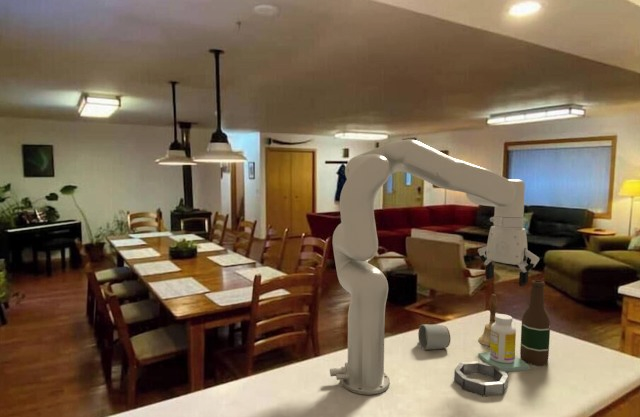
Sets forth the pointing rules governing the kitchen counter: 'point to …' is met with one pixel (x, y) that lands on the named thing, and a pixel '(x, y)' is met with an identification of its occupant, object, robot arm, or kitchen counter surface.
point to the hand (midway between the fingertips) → (505, 281)
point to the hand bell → (486, 335)
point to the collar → (478, 386)
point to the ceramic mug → (433, 336)
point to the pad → (513, 366)
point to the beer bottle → (535, 328)
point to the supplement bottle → (503, 339)
